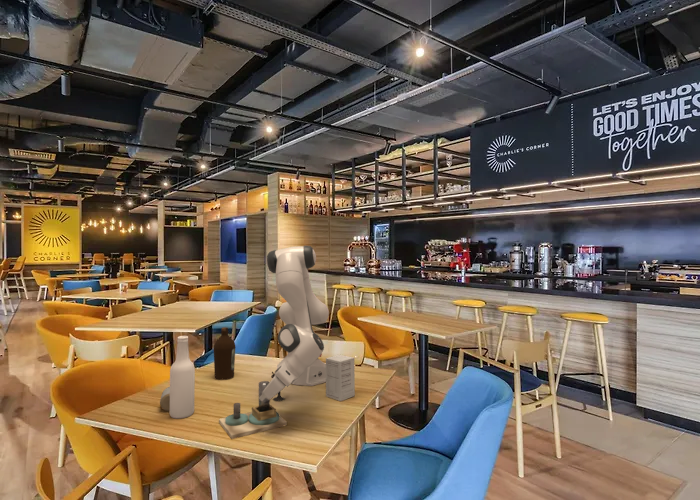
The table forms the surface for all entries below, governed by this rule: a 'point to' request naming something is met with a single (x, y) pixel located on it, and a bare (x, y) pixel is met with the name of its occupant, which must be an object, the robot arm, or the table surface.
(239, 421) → the gear board
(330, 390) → the supplement box
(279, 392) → the sundae
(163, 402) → the ceramic mug
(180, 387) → the alcohol
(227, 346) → the olive oil
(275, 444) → the table surface
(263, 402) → the axle
